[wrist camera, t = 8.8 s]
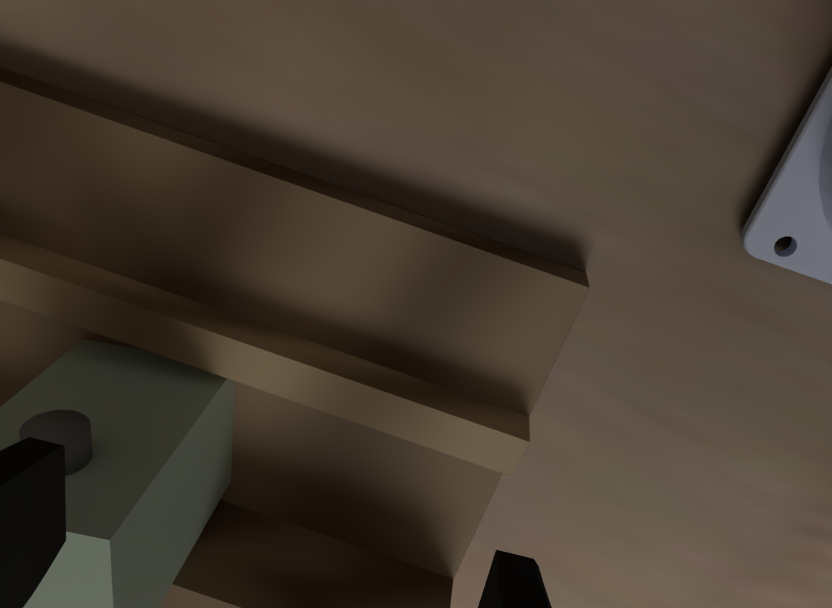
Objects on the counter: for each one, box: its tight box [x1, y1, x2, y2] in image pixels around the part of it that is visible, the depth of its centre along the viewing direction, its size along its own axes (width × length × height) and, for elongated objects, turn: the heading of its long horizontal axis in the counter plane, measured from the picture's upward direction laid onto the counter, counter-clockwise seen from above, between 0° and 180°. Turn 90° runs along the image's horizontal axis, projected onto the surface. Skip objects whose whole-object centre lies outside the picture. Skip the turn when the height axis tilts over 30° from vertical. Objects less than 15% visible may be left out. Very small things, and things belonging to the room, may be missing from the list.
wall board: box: [0, 68, 590, 608], centre depth 20 cm, size 20×12×4 cm, turn 72°
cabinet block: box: [0, 339, 235, 608], centre depth 18 cm, size 4×5×7 cm
